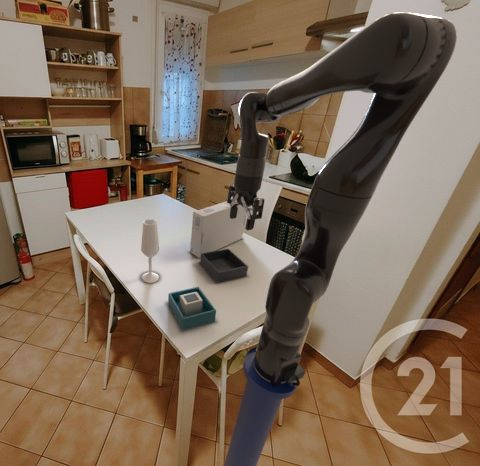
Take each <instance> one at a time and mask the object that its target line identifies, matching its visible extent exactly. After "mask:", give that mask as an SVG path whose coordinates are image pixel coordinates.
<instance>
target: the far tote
mask: <svg viewBox="0 0 480 466" xmlns="http://www.w3.org/2000/svg"><path fill="white" fill-rule="evenodd" d="M200 264H201V265H202V266H203V268H204V269H205V270H206V271H207V272H208V273H209V275H210V276H211V277H212V278H213V279H214V280H215V282H216V283H220V282H227V281H230V280H235V279H239V278H243V277H247V274H248V270H249V266H248V264H247V263H245V262H244V261H243V260H242V259H241V258H240V257H239V256H237V254H235V253H234V252H233V251H232V250H231V249H230V248H224V249H218V250H216V251H213V252H207V253H202V254H201V257H200Z"/></svg>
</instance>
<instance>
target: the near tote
mask: <svg viewBox="0 0 480 466" xmlns="http://www.w3.org/2000/svg"><path fill="white" fill-rule="evenodd" d="M193 292H197V293H198V294H199V296H200V297H201V299H202V300H203V303H202V312H201V313H200V314H196V315H192V316H188V317H184V316H183V314H182V312H181V310H180V309H179V303H180V295H184V294H188V293H193ZM167 304H168V305H169V308H170V310H171V312H172V313H173V315H174V318H175V320H176V321H177V323H178V325H179V327H180V329H181V331H184V330H188V329H192V328H196V327H200V326H203V325H207V324H210V323H215V322H216V315H217V310H216V308H215V307H214V305H213V304H212V303H211V301H210V300H209V298H207V296H206V295H205V293H204V292H203V291H202V289H201V288H200V286H195V287H191V288H185V289H181V290H176V291H173V292H169V293H168V299H167Z"/></svg>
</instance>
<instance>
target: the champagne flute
mask: <svg viewBox="0 0 480 466" xmlns="http://www.w3.org/2000/svg"><path fill="white" fill-rule="evenodd" d="M159 241H160V240H159V231H158V221H157V220H156V219H152V218H150V219H149V218H147V219H144V220H143V222H142V233H141V244H140V245H141V246H140V250H141V253H142V254H143V255H144V256H146V257H148V272H146V273H143V274H142V276H141V280H142V281H143V282H145V283H149V284H152V283H156V282H157V281H159V279H160V276H159V275H158V274H157V273H156V272H153V257H155V256H156V255H157V254H158V253H159V252H160V242H159Z"/></svg>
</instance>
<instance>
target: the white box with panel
mask: <svg viewBox="0 0 480 466" xmlns="http://www.w3.org/2000/svg"><path fill="white" fill-rule="evenodd" d="M202 303H203V300H202V299H201V297H200V296H199V294H198V293H197V292H193V293H188V294H184V295H180V303H179V309H180V310H181V312H182V314H183V316H184V317H188V316H192V315H196V314H200V313H201V312H202Z"/></svg>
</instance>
